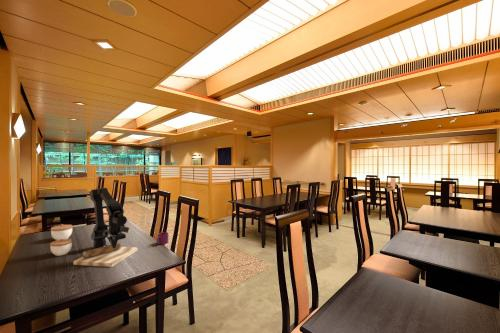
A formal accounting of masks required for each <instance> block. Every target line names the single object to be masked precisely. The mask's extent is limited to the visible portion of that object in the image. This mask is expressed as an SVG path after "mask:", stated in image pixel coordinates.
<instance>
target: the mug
mask: <svg viewBox="0 0 500 333" xmlns="http://www.w3.org/2000/svg"><path fill="white" fill-rule="evenodd" d="M156 241H157V242H156V243H158V244H159V245H167V244H168V243H169V232H166V231H163V232H159V233H158V236H157V239H156Z"/></svg>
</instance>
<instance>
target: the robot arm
mask: <svg viewBox="0 0 500 333" xmlns="http://www.w3.org/2000/svg"><path fill="white" fill-rule="evenodd" d="M89 197H90V200H91V201H92V202H93V208H94V219H95V225H94V226H93V231H92V233H91V234H90V240H92V241H93V247H91V250H92V249H96V248H100V247H103V246H108V245H107V241H108V242H109V245H112V247H113V248H115V247H116V244H117V243H118V241H120V240H123V239H126V237H127V235H126V234H125V233H129V230H130V227H128V226H125V225H126V223H127V221H128V219H127V217H126V216H125V215H124V214H125V212H124V211H125V210H124V208H123V206H122V203H120V202H119V201H118V200H116V199H114V197H113V196H112V195H111V193H110V192H109V189H108V188H107V187H99V188H95V189H91V190H90V191H89ZM103 202H104V204H105V205H106V206H105V211H106V212H107V216H108V224H106V223H105V216H104V206H103V205H104V204H103Z"/></svg>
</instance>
